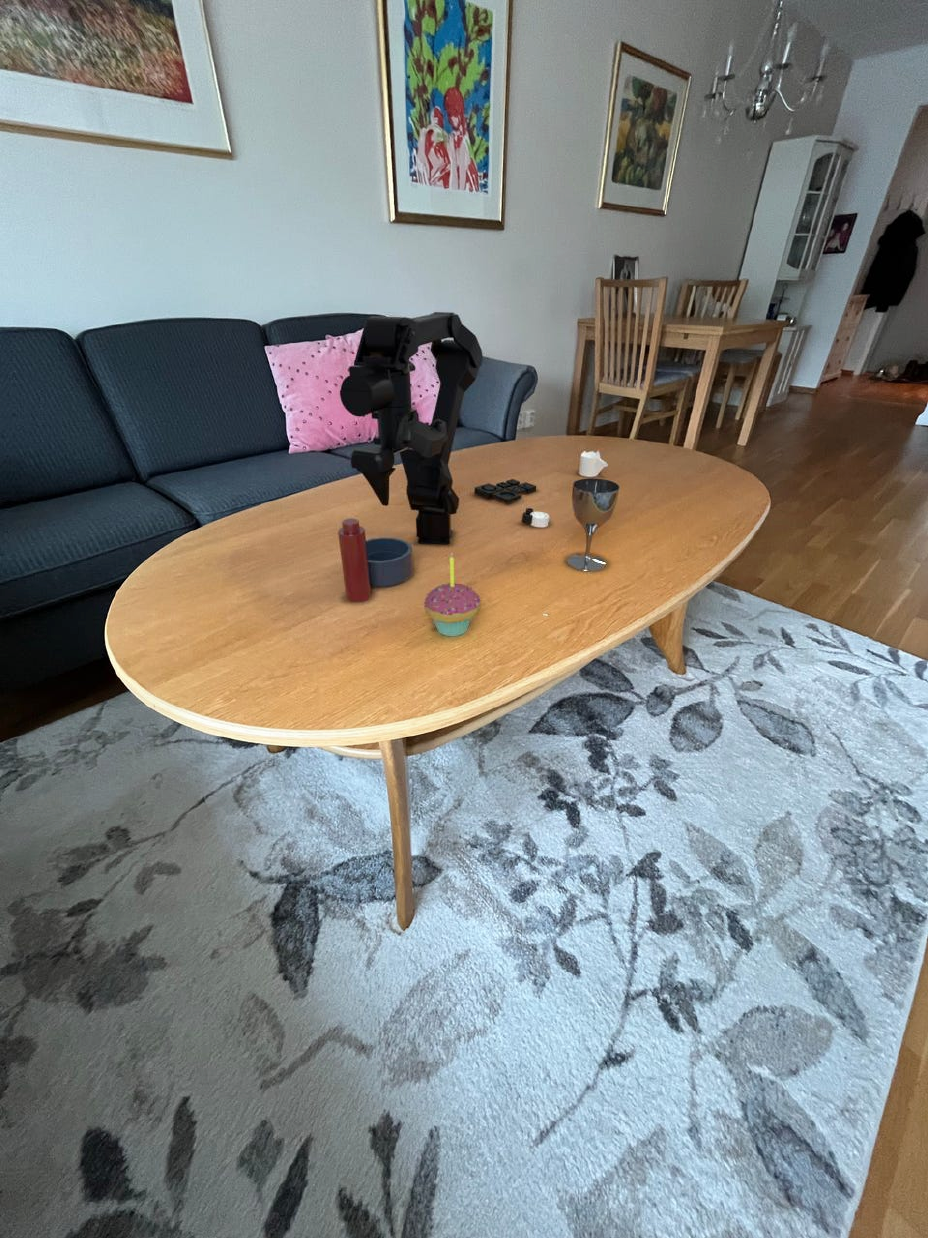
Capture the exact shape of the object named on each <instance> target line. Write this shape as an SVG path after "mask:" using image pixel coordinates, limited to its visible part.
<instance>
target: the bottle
mask: <svg viewBox="0 0 928 1238" xmlns="http://www.w3.org/2000/svg"><path fill="white" fill-rule="evenodd" d="M341 526H342V527H340V528H339V529H338V530H337V537H338V542H339V550H340V558H341V565H342V574H343V581H344V588H345V595H346V599H347V600H348V601H350V602H353V603H363V602H365V601H368V600H369V599H371V598H372V586H370V576H369V566H368V556H367V547H366V540H367V539H366V538H367V537H366V530H365V528H364V527H363V526H360V521H359V519H357V518H346V519H343V520H342V521H341Z"/></svg>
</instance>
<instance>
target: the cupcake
mask: <svg viewBox="0 0 928 1238" xmlns="http://www.w3.org/2000/svg"><path fill="white" fill-rule="evenodd" d="M448 559H449V583H445V584H441V585H438V586H436V587H435V588H433V589H431V590H430V591H429V592H428V593H427V594H426V596H425V598H424V612H425V614H426V615H427V616H428V617H429V618H430V619H431V620H432V621H433V623H434V625H435V627H436V630H437V632H438V633H439V634H441V635H442V636H446V637H458V636H462V635H463V634H465V633H466V632H467V631H468V628H469V625H470V623H471V621H472V619H474V618H475V617H476V616H477V615H478V614H479V611H480V610H481V606H482V603H481V601H482V600H481V597H480V596H479V594H478V593H477V591H476V590H474V589H473V588H472V587H470V586H468V585H465V584H461V583H456V582H455V558H454V557H453V552H452V551H451V552H450V557H449V558H448Z"/></svg>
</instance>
